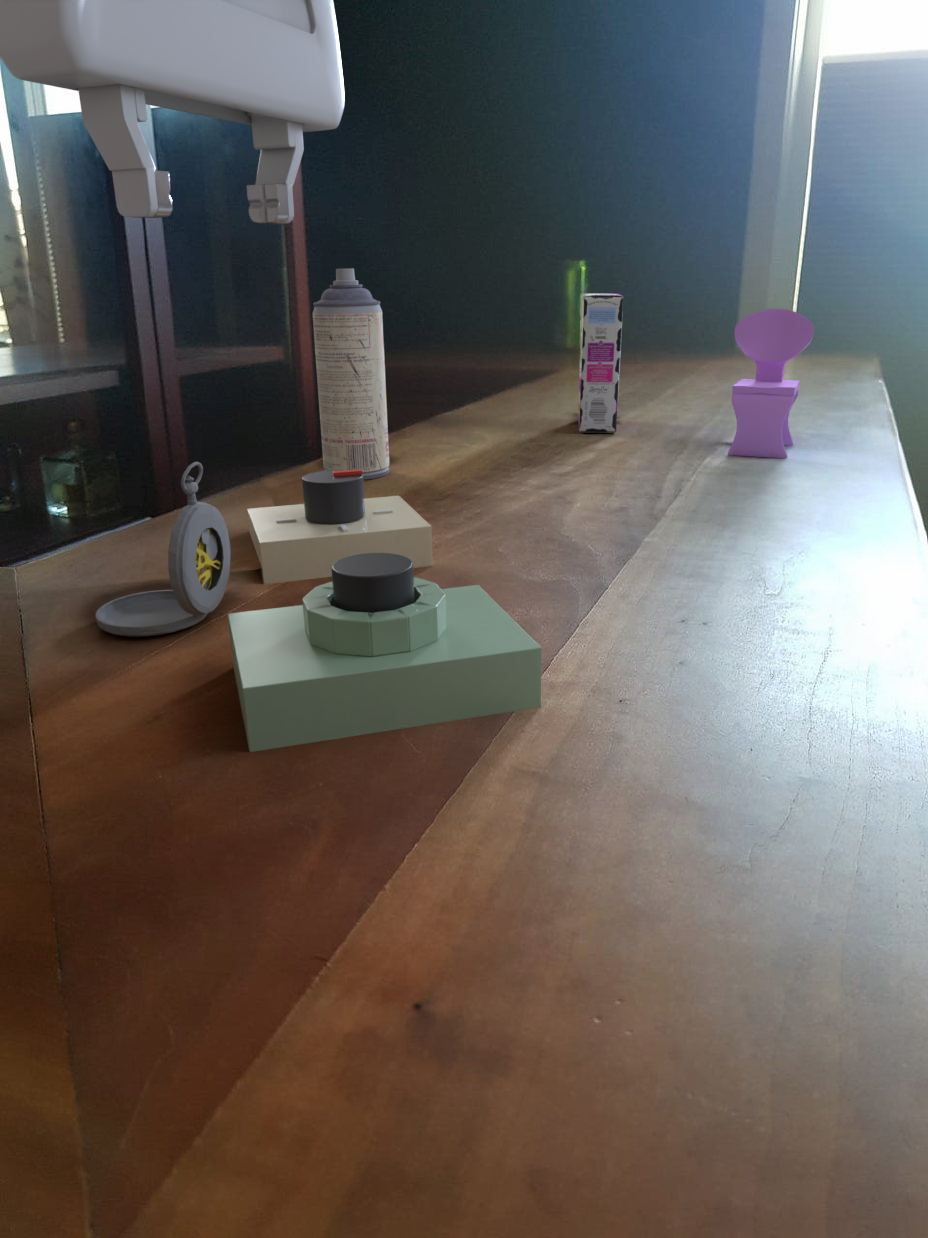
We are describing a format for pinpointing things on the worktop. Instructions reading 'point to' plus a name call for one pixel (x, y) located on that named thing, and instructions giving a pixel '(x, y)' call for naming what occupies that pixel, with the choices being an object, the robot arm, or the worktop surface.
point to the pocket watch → (179, 575)
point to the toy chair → (767, 381)
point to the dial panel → (335, 538)
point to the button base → (379, 665)
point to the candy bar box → (599, 362)
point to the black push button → (373, 582)
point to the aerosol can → (351, 378)
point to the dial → (334, 496)
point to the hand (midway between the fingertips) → (215, 220)
